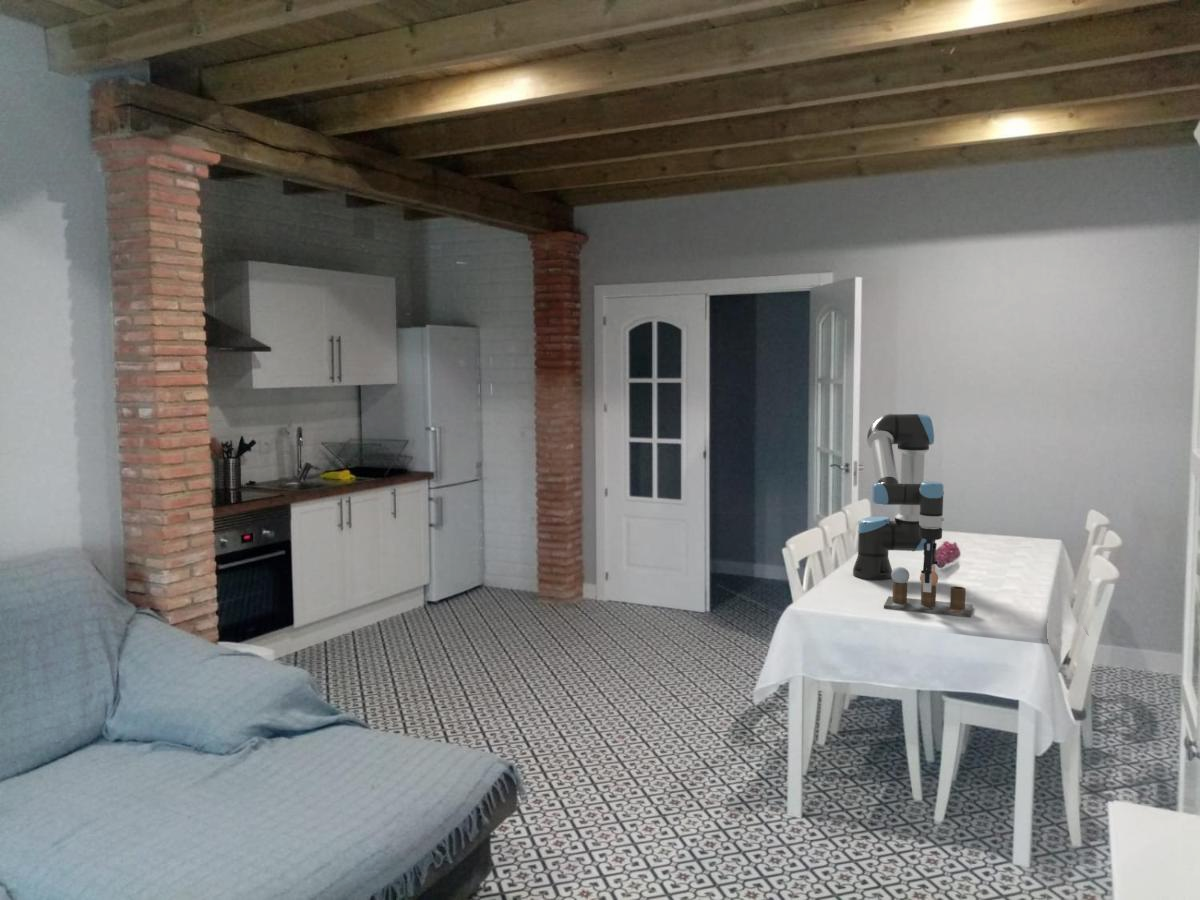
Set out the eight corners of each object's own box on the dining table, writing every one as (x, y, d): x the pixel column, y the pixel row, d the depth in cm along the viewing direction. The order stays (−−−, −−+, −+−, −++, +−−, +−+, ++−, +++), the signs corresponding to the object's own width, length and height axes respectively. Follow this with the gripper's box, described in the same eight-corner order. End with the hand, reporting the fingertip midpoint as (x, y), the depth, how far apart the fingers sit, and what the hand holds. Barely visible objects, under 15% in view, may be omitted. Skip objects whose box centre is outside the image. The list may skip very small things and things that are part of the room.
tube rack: (883, 608, 318) (884, 585, 317) (888, 598, 330) (889, 577, 329) (970, 617, 306) (971, 593, 306) (972, 607, 318) (973, 584, 317)
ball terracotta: (918, 587, 316) (919, 570, 315) (920, 583, 321) (921, 566, 321) (937, 589, 313) (937, 572, 313) (938, 585, 319) (939, 568, 318)
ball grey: (890, 585, 320) (890, 568, 319) (892, 581, 325) (892, 564, 325) (908, 586, 317) (908, 569, 317) (910, 582, 323) (910, 566, 322)
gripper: (939, 534, 302) (937, 597, 304) (944, 521, 325) (943, 580, 327) (915, 532, 305) (913, 594, 308) (922, 520, 328) (920, 578, 330)
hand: (928, 587), depth 317 cm, fingers open, 13 cm apart
